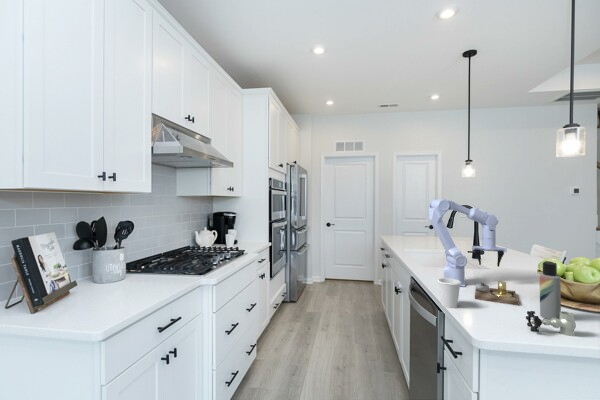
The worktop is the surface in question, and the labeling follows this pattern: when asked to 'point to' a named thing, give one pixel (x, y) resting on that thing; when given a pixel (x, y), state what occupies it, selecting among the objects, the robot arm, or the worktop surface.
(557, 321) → the valve
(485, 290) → the carrier
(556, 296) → the lotion bottle
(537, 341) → the worktop surface
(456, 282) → the dixie cup
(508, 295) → the brass flanged knob
